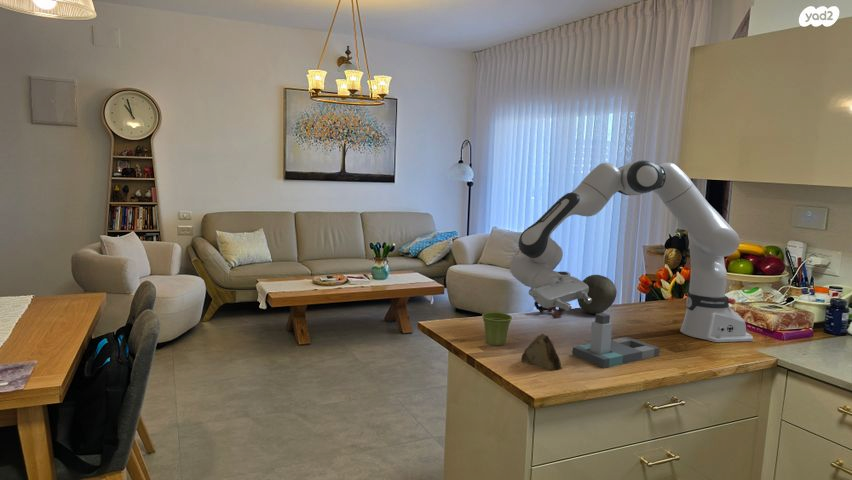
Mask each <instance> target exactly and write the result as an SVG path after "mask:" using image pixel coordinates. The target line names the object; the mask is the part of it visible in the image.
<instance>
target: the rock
mask: <svg viewBox="0 0 852 480" xmlns="http://www.w3.org/2000/svg"><path fill="white" fill-rule="evenodd" d="M520 359H521V362H523V363H526V364H529V365H531V366H535V367H537V368H541V369H545V370H548V371H556V370H557V371H559V370H562V369H563V367H562V363H561V360H560V359H561V358H560V357H559V355H558V353H557V351H556V348H555V345H554V344H553V342H552V340H551V339H550V337H549V335H546V334H543V333H541V334H539V335H537V336H536V337H535V339H533V341H532V342H531V343H530V344H529V345H528V346H527V347H526V348H525V349H524V352H523V353H522V354H521V358H520Z"/></svg>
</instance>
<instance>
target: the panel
mask: <svg viewBox="0 0 852 480" xmlns="http://www.w3.org/2000/svg"><path fill="white" fill-rule="evenodd" d="M659 355H660V347H659V346H655V345H652V344H649V343H647V342H643V341H640V340H638V339H635V338H632V337H629V336H624V337H619V338H614V339H612V338H611V346H610V353H607V354H603V355H600V354H597V353H595V352H592V351H590V343H587V344H582V345H577V346H572V356H573V357H576V358H578V359H580V360H582V361H585V362H588V363H590V364H593V365H594V366H595V365H596V366H597V367H600V368H603V369H607V368H609V367H615V366H619V365H623V364H627V363H632V362H637V361H641V360H645V359H650V358H654V357H660V356H659Z"/></svg>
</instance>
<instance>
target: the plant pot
mask: <svg viewBox="0 0 852 480" xmlns="http://www.w3.org/2000/svg"><path fill="white" fill-rule="evenodd" d="M481 317H482V319H483V323H484V334H485V335H484V337H485V342H486V344H488V345H491V346H498V345H500V346H504V345H505V344H506V341H507V335H508V330H509V326H510V323H511V321H512V318H513V317H512V316H511V315H510V314H507V313H503V312H500V311H499V312H495V311H491V312H485V313H482V315H481Z"/></svg>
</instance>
